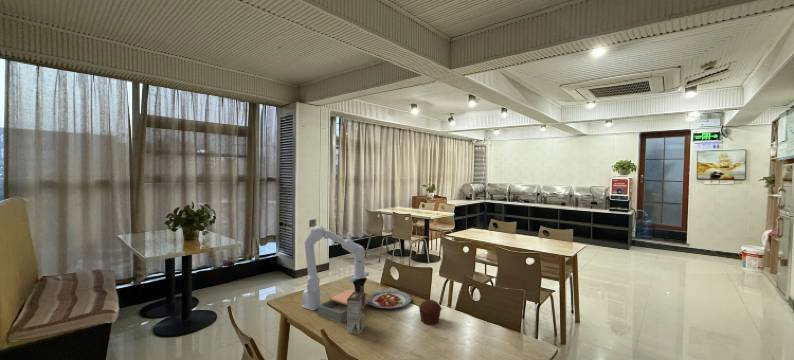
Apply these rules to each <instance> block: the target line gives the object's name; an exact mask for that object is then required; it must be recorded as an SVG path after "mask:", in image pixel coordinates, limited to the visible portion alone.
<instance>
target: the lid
mask: <svg viewBox="0 0 794 360" xmlns="http://www.w3.org/2000/svg"><path fill="white" fill-rule="evenodd" d="M353 292H356V289H355V288H354V289H351V288H349V289H348V290H345V291H343V292H341V293H339V294H336V295H335V296H332V297H329V300H332V301H335V302H338V303H341V304H345V305H347V299H348V298H349V297H350V296H351V294H352V293H353ZM359 293H365V285H364V286H360V292H359ZM370 294H371V293H366V300H368V299H370V298H372V297H373V295H370Z"/></svg>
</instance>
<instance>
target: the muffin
mask: <svg viewBox="0 0 794 360" xmlns="http://www.w3.org/2000/svg"><path fill="white" fill-rule="evenodd" d="M418 309H419V315H420V321H421V322H422V324H423V325H428V326H435V325H437V324H439V321H440V318H441V317H440V315H441V311H442V309H443V308H442V307H441V305H440V304H439V303H438V302H437V301H436V300H434V299H426V300H424V301H423V302H422V303H421V304H420V305H419V306H418ZM436 323H437V324H436Z"/></svg>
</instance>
